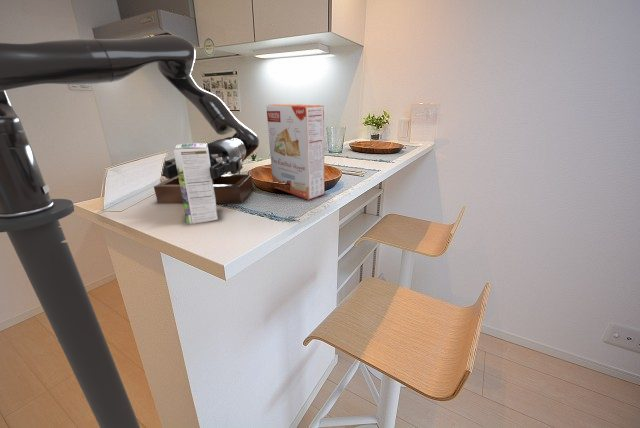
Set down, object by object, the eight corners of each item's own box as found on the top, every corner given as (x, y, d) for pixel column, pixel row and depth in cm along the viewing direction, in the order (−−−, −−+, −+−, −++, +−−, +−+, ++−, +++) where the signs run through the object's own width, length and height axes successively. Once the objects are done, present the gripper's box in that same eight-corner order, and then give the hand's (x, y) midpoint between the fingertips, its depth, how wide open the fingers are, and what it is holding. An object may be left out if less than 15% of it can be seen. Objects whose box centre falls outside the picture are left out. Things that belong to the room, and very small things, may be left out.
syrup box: (188, 214, 59) (173, 143, 54) (218, 210, 61) (207, 141, 56) (187, 225, 54) (171, 148, 49) (219, 220, 56) (207, 146, 51)
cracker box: (271, 189, 75) (264, 104, 67) (289, 184, 79) (284, 103, 71) (307, 201, 66) (304, 104, 58) (325, 195, 70) (325, 104, 62)
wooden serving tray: (157, 203, 66) (153, 186, 65) (179, 189, 76) (176, 174, 75) (241, 203, 66) (239, 186, 64) (252, 189, 75) (251, 174, 74)
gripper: (188, 140, 66) (146, 153, 51) (249, 140, 66) (224, 152, 51) (194, 172, 69) (156, 193, 54) (252, 172, 68) (230, 193, 53)
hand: (189, 173), depth 52 cm, fingers open, 8 cm apart
